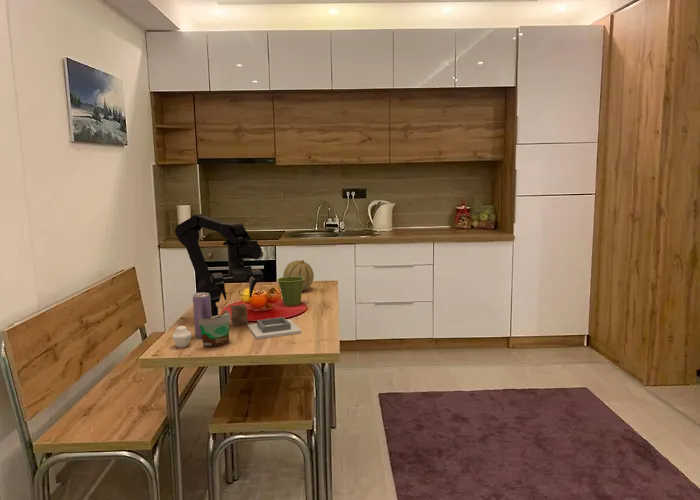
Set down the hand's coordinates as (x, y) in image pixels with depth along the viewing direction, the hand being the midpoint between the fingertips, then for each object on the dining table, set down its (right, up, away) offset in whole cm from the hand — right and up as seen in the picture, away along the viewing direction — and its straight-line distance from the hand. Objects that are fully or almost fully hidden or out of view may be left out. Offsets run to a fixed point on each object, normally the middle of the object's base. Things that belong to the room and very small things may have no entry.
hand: (238, 298), depth 198 cm
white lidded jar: (-14, -14, -22) cm, 30 cm away
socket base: (+14, -11, -7) cm, 19 cm away
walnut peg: (0, -10, +1) cm, 10 cm away
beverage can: (-9, -12, -12) cm, 19 cm away
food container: (-1, -13, -21) cm, 25 cm away
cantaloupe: (+17, -2, +56) cm, 58 cm away
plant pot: (+17, -5, +30) cm, 35 cm away
